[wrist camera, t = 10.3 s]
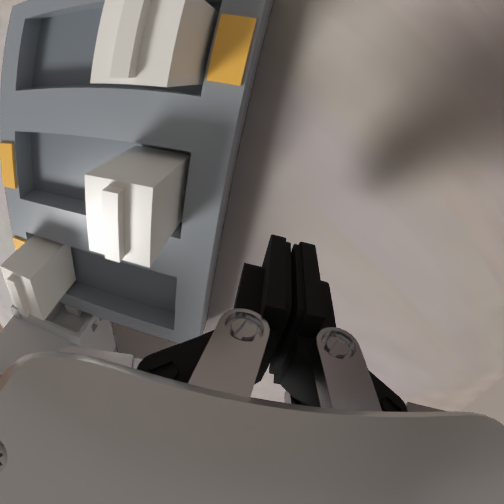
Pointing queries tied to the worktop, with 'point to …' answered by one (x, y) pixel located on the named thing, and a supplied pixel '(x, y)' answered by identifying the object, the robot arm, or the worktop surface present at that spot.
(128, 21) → the tab
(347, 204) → the worktop surface
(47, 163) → the switch bank
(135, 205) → the tab
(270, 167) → the worktop surface
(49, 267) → the tab
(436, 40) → the worktop surface
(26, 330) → the circuit breaker
